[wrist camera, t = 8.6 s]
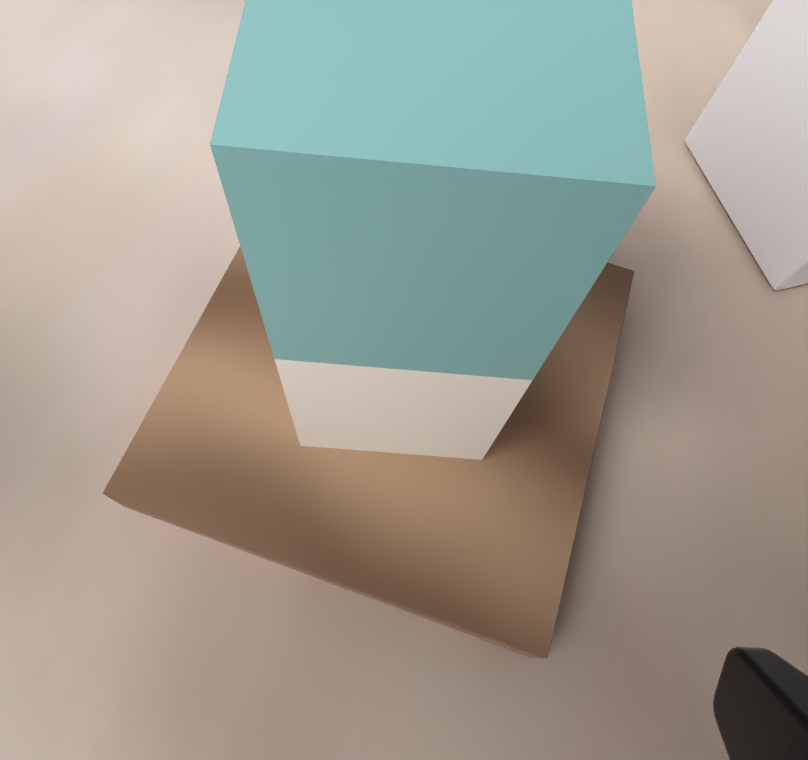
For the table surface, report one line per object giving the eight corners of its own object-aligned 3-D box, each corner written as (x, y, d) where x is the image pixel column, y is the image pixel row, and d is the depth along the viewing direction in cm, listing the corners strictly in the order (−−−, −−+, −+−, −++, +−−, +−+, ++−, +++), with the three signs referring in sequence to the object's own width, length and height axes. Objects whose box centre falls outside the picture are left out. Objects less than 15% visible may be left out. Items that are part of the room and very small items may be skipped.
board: (531, 657, 17) (547, 658, 15) (123, 505, 17) (102, 493, 16) (616, 295, 21) (634, 271, 20) (292, 191, 22) (287, 161, 21)
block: (482, 459, 17) (655, 186, 7) (300, 445, 17) (209, 144, 7) (483, 303, 19) (620, -85, 9) (321, 289, 19) (275, -122, 9)
